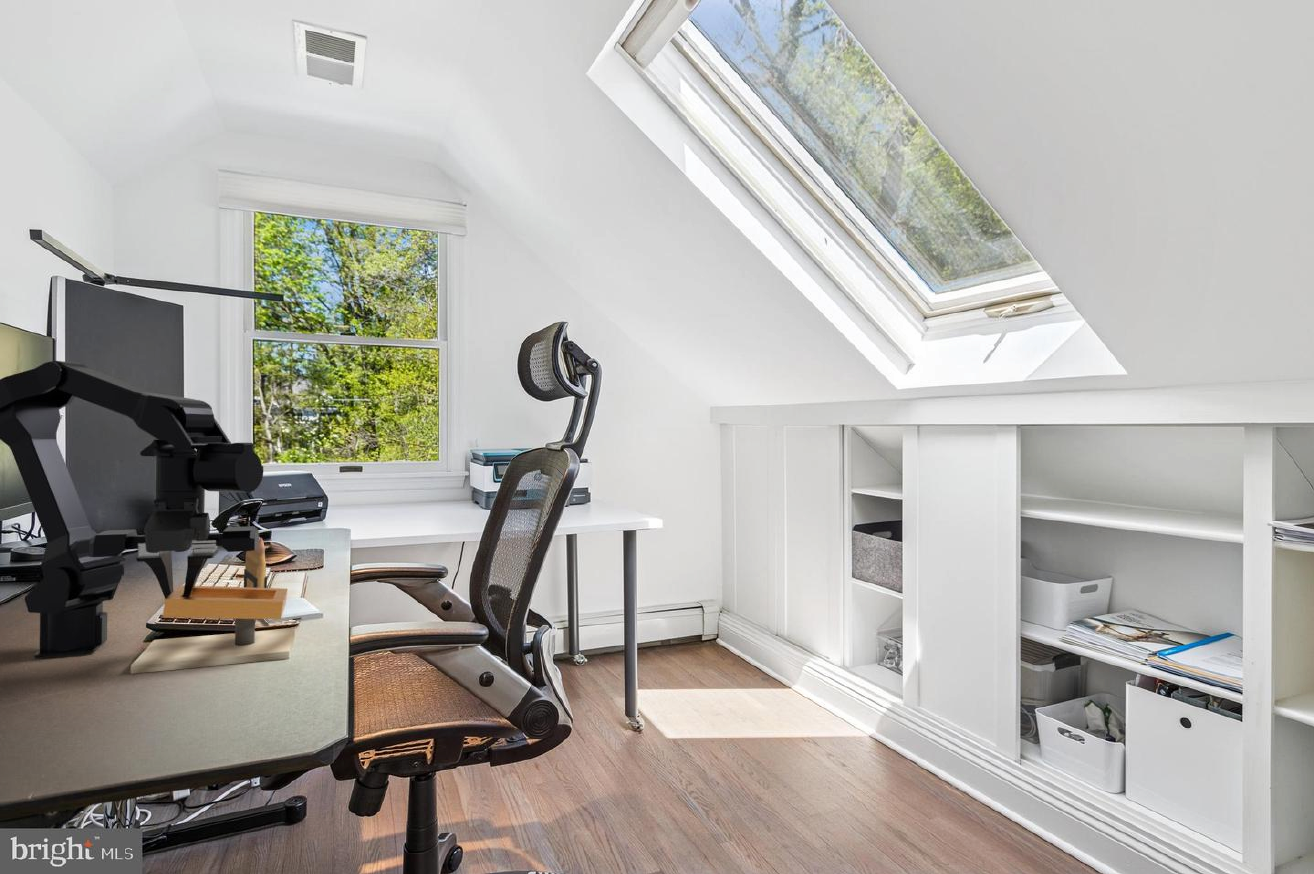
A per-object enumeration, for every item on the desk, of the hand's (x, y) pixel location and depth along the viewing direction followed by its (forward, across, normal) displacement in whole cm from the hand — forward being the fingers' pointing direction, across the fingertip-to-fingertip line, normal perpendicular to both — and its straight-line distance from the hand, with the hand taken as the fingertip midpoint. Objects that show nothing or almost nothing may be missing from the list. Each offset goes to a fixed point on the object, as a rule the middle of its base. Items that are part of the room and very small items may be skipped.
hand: (178, 603), depth 98 cm
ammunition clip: (+8, +6, +32) cm, 33 cm away
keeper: (+7, +5, 0) cm, 9 cm away
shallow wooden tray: (+1, +6, 0) cm, 6 cm away
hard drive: (+8, +12, +20) cm, 25 cm away
